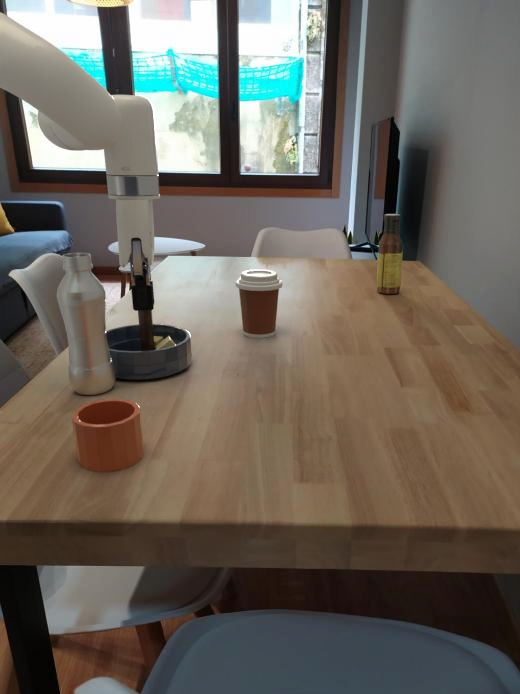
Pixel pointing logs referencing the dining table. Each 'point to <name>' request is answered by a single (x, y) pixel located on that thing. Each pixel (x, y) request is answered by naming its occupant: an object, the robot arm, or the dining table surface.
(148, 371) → the bowl
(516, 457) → the dining table surface
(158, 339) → the chunk
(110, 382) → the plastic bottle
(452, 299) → the dining table surface
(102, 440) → the holder
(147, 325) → the stick
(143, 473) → the dining table surface
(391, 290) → the sauce bottle
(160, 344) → the chunk
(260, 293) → the coffee cup
